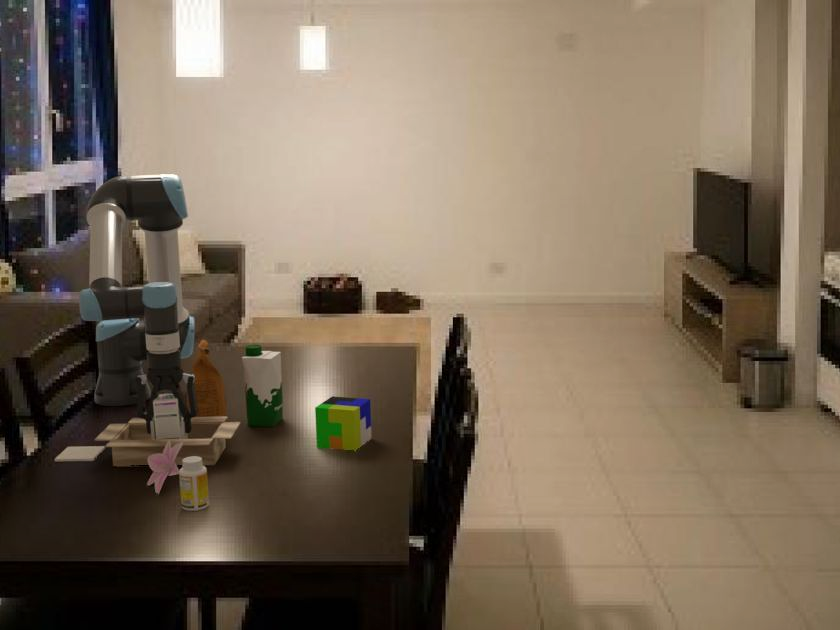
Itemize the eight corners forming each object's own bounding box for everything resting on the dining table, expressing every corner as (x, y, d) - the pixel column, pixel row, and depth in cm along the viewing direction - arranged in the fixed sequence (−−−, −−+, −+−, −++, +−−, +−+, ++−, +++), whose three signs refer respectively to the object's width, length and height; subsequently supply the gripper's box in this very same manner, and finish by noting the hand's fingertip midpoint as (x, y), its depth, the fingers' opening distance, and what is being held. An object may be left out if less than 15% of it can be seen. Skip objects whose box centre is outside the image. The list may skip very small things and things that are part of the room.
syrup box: (183, 459, 246) (179, 398, 243) (157, 461, 245) (152, 400, 242) (184, 451, 252) (180, 392, 249) (158, 453, 251) (154, 393, 248)
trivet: (68, 449, 255) (67, 446, 255) (105, 448, 255) (105, 446, 255) (54, 461, 247) (54, 459, 246) (93, 460, 246) (93, 458, 246)
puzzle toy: (371, 438, 258) (370, 399, 256) (355, 451, 249) (354, 410, 247) (333, 435, 262) (332, 396, 260) (316, 448, 252) (315, 407, 250)
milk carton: (254, 416, 279) (250, 342, 275) (287, 417, 277) (284, 343, 273) (242, 426, 270) (238, 350, 266) (276, 428, 268) (272, 351, 264)
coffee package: (228, 419, 277) (223, 337, 272) (227, 433, 265) (222, 347, 260) (189, 422, 275) (183, 339, 271) (187, 436, 263) (181, 350, 259)
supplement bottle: (209, 500, 220) (206, 453, 218) (209, 510, 215) (206, 462, 213) (181, 503, 219) (178, 455, 217) (180, 513, 214) (177, 464, 212)
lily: (152, 479, 236) (131, 449, 231) (200, 456, 237) (180, 426, 232) (155, 514, 226) (134, 483, 221) (206, 489, 227) (185, 458, 222)
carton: (118, 442, 259) (116, 418, 258) (245, 441, 259) (244, 416, 257) (90, 472, 238) (87, 446, 237) (228, 470, 238) (226, 443, 236)
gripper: (116, 354, 240) (124, 452, 245) (201, 353, 240) (207, 450, 244) (126, 347, 247) (133, 441, 252) (208, 345, 247) (214, 440, 251)
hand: (170, 446), depth 248 cm, fingers closed on syrup box, 6 cm apart
